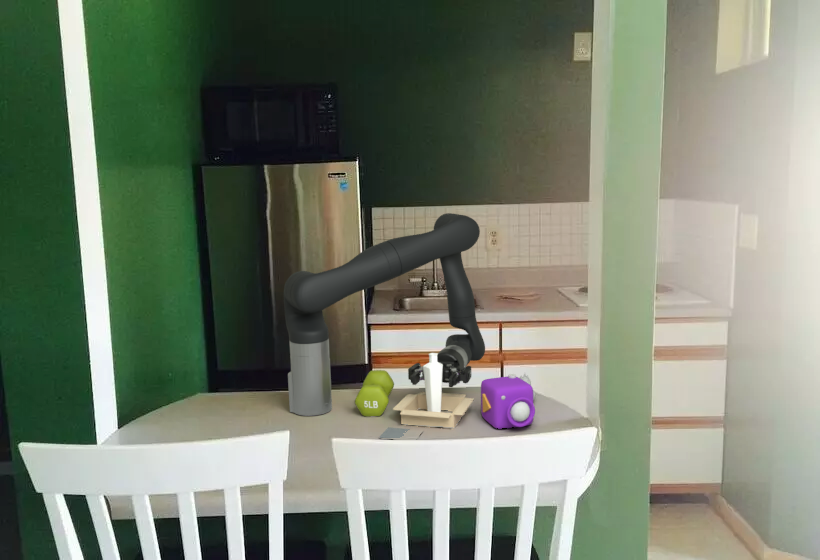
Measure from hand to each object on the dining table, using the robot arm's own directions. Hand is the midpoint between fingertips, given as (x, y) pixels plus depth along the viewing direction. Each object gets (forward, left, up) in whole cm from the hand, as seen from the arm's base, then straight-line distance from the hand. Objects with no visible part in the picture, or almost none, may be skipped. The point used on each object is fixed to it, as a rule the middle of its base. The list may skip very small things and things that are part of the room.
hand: (431, 381), depth 158 cm
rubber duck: (+18, +16, -9) cm, 26 cm away
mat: (-4, -10, -9) cm, 14 cm away
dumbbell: (-16, +6, -9) cm, 20 cm away
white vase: (0, +2, -9) cm, 9 cm away
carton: (0, +2, -9) cm, 9 cm away
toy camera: (+17, +1, -9) cm, 20 cm away
